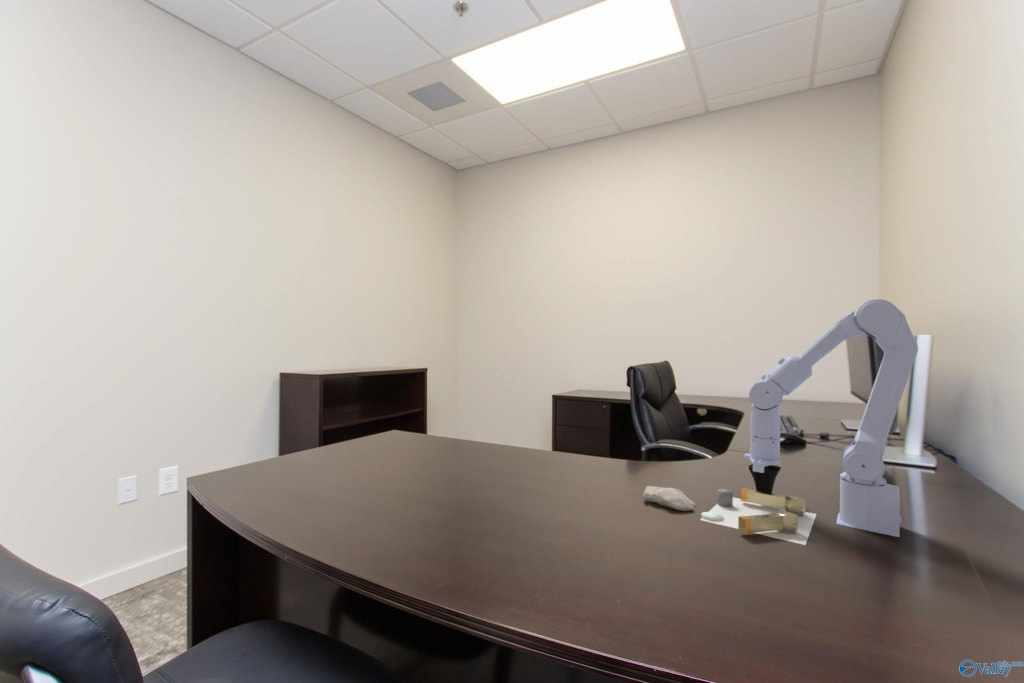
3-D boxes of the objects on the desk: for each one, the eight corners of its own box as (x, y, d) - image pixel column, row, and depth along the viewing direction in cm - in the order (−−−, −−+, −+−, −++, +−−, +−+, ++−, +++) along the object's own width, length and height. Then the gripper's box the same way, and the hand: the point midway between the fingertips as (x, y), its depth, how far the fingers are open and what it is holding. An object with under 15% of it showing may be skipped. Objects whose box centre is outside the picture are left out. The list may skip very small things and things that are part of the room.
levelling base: (816, 516, 94) (816, 499, 94) (805, 547, 79) (805, 527, 79) (723, 497, 106) (723, 482, 106) (697, 521, 90) (697, 503, 90)
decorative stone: (704, 519, 93) (681, 502, 108) (706, 500, 93) (683, 485, 108) (650, 509, 94) (635, 493, 108) (652, 490, 94) (637, 477, 109)
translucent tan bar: (785, 523, 87) (785, 510, 87) (802, 530, 84) (802, 516, 84) (734, 528, 84) (734, 514, 84) (749, 536, 80) (749, 521, 80)
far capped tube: (806, 510, 94) (806, 498, 95) (804, 515, 92) (804, 502, 92) (743, 498, 102) (743, 486, 102) (739, 501, 99) (740, 490, 99)
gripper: (751, 430, 108) (751, 488, 108) (737, 438, 97) (736, 503, 97) (786, 434, 104) (785, 494, 104) (775, 443, 92) (774, 511, 92)
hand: (764, 499), depth 100 cm, fingers closed
